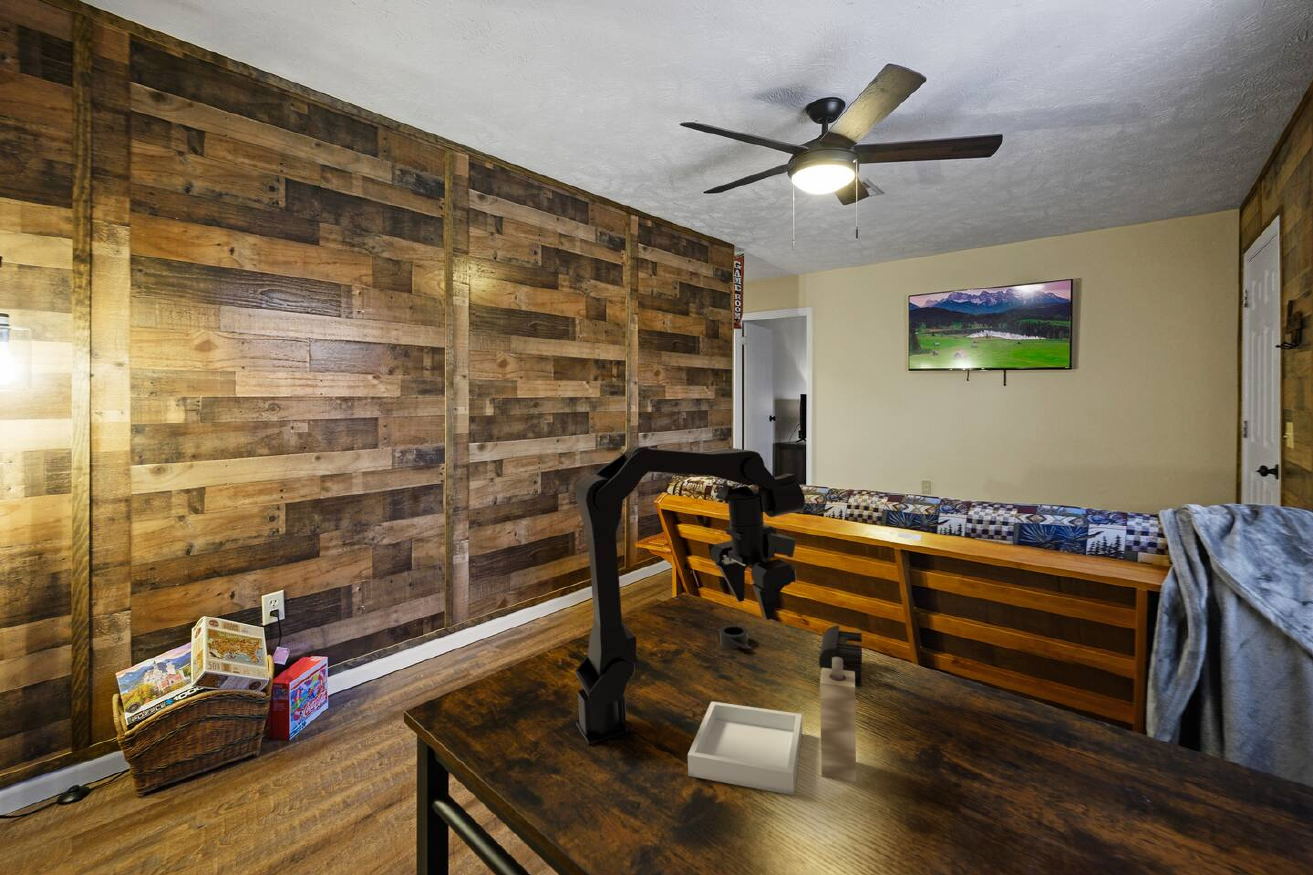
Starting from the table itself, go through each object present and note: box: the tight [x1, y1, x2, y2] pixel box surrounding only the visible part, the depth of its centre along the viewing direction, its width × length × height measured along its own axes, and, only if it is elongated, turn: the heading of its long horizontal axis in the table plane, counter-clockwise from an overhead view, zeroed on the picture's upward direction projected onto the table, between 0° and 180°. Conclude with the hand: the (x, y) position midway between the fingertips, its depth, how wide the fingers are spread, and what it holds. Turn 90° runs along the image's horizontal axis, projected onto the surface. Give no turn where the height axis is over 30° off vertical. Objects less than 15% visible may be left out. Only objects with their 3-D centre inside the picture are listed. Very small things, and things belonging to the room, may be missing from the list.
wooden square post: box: [819, 657, 857, 783], centre depth 78 cm, size 4×4×16 cm
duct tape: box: [716, 624, 753, 651], centre depth 118 cm, size 8×10×3 cm
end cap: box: [818, 625, 863, 687], centre depth 105 cm, size 10×7×7 cm
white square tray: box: [687, 701, 803, 796], centre depth 82 cm, size 14×14×3 cm
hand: (754, 609), depth 99 cm, fingers open, 9 cm apart
